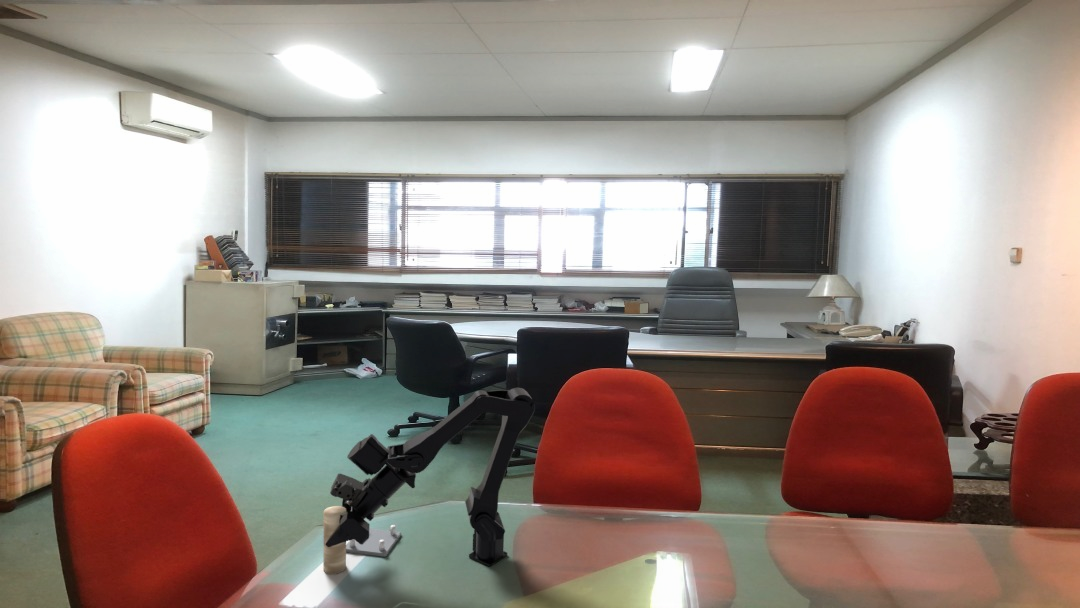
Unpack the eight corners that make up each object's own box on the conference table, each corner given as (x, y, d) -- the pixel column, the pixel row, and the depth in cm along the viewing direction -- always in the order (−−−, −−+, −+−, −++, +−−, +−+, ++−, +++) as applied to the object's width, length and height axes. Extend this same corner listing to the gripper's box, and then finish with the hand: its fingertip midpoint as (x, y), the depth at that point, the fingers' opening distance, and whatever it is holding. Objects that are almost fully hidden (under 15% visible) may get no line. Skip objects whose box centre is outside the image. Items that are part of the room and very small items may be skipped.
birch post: (350, 567, 136) (350, 510, 134) (332, 576, 132) (332, 518, 131) (337, 559, 139) (337, 504, 137) (319, 568, 135) (318, 511, 133)
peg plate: (401, 535, 151) (401, 524, 150) (385, 556, 141) (385, 545, 141) (361, 530, 152) (361, 519, 152) (343, 551, 142) (343, 540, 142)
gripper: (356, 447, 142) (305, 497, 141) (351, 481, 125) (292, 538, 123) (391, 479, 145) (341, 527, 144) (392, 516, 127) (335, 572, 126)
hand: (327, 539), depth 134 cm, fingers closed on birch post, 5 cm apart
